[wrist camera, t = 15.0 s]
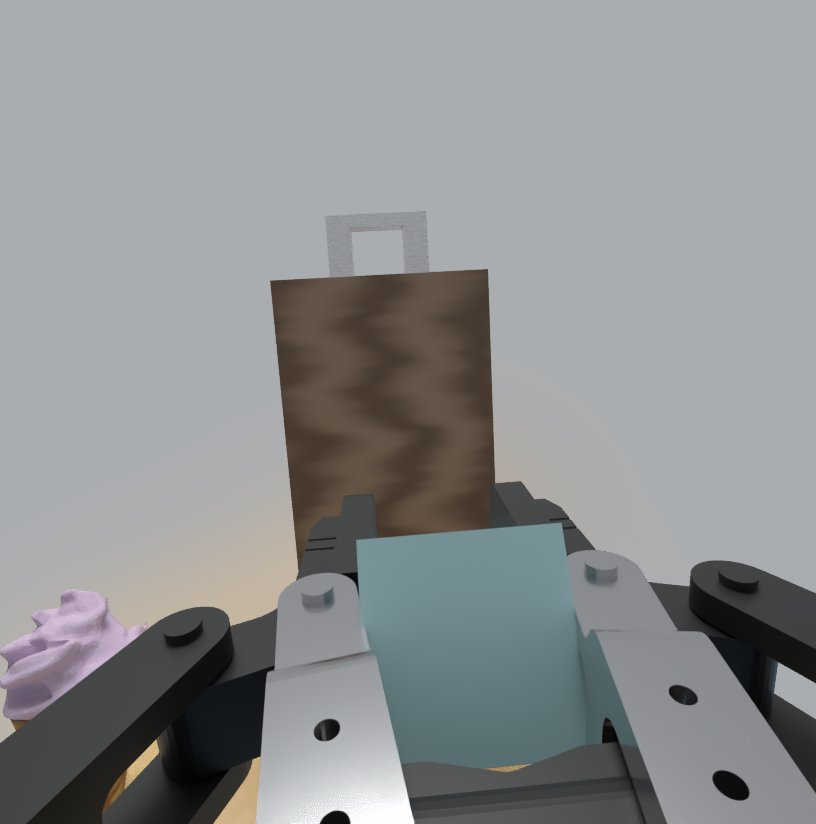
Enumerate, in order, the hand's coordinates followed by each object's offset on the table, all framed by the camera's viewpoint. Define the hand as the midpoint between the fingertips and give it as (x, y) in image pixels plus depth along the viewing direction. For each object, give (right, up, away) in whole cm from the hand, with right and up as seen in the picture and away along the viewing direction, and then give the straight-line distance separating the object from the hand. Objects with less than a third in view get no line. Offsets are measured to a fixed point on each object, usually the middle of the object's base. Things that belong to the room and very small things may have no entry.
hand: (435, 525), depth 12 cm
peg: (0, -5, +6) cm, 8 cm away
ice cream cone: (-18, -22, +17) cm, 33 cm away
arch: (-3, +12, +23) cm, 26 cm away
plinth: (-1, -19, +30) cm, 36 cm away
